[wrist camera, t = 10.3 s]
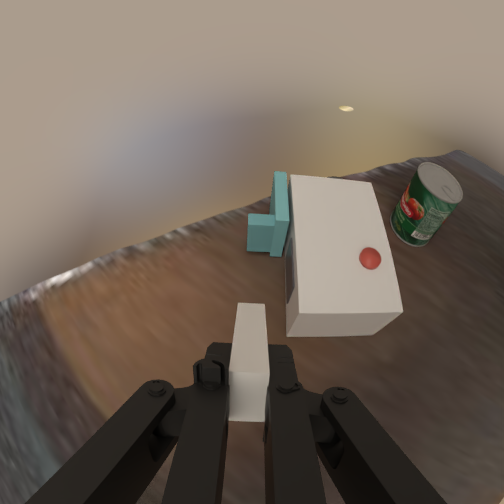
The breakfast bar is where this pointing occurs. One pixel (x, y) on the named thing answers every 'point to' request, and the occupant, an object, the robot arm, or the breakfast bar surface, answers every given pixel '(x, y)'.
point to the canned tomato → (425, 204)
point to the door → (271, 221)
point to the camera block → (337, 260)
